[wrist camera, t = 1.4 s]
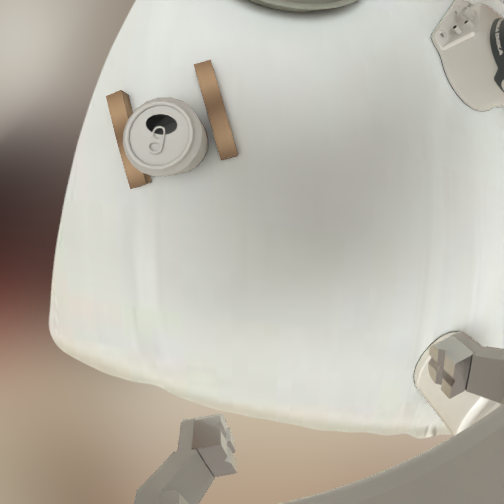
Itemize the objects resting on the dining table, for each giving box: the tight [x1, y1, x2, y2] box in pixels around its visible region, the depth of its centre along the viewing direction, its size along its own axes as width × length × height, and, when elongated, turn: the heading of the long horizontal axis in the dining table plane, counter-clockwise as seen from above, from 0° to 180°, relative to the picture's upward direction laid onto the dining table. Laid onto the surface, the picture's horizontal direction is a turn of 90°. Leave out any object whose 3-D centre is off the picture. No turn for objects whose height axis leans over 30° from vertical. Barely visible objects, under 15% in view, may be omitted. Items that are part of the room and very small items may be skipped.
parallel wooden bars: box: [106, 60, 238, 189], centre depth 34 cm, size 12×13×3 cm
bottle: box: [414, 332, 501, 436], centre depth 36 cm, size 14×14×28 cm
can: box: [123, 98, 208, 176], centre depth 30 cm, size 8×8×12 cm
